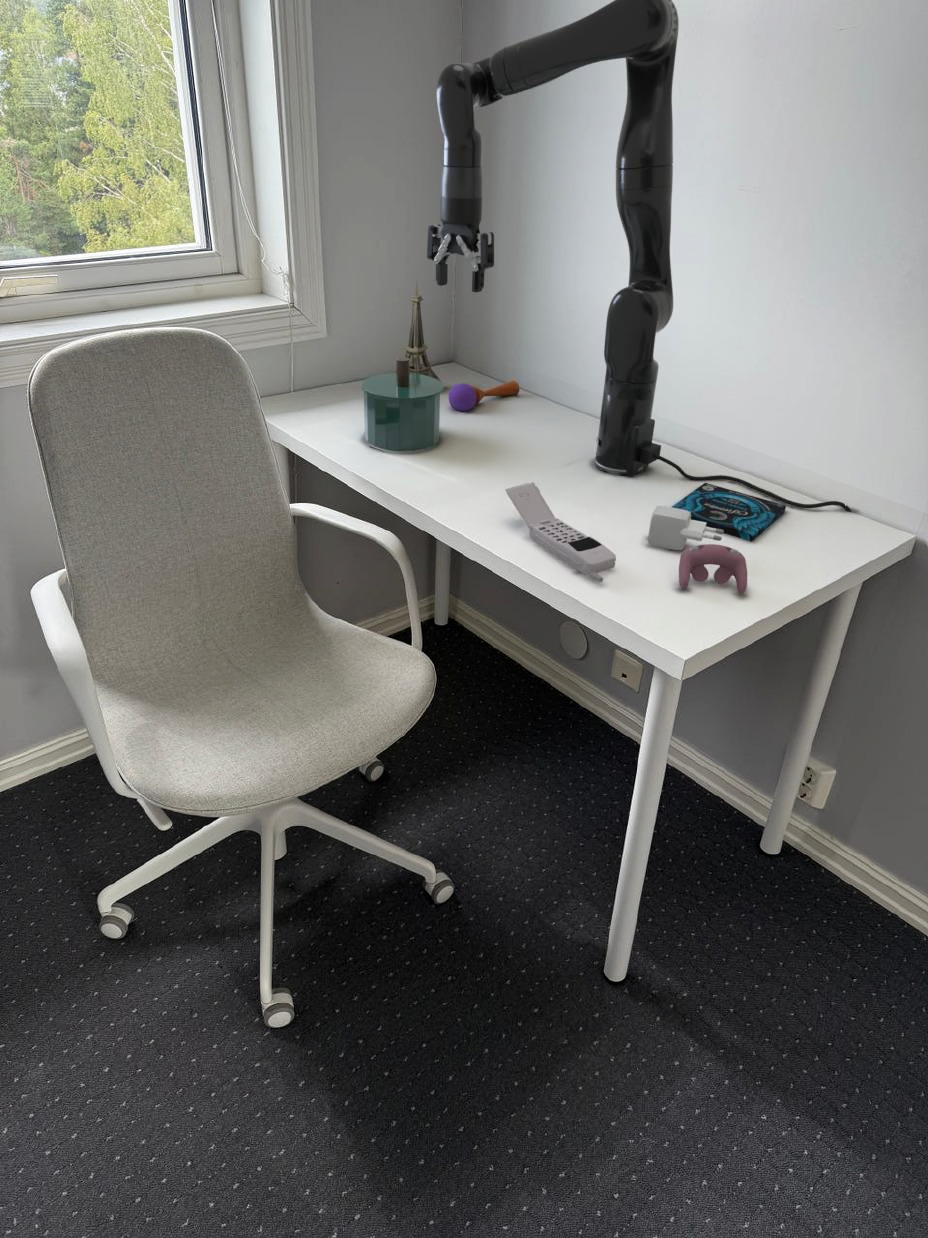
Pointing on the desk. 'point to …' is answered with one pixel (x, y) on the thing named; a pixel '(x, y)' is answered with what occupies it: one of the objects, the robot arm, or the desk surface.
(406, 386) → the lid
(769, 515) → the guitar string package
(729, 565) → the video game controller
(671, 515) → the power adapter
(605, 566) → the mobile phone
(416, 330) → the eiffel tower
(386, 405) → the pot
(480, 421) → the desk surface
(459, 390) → the kendama
